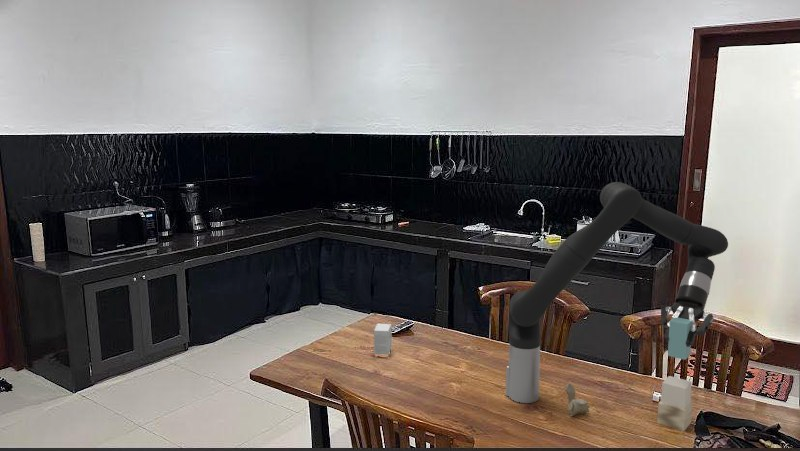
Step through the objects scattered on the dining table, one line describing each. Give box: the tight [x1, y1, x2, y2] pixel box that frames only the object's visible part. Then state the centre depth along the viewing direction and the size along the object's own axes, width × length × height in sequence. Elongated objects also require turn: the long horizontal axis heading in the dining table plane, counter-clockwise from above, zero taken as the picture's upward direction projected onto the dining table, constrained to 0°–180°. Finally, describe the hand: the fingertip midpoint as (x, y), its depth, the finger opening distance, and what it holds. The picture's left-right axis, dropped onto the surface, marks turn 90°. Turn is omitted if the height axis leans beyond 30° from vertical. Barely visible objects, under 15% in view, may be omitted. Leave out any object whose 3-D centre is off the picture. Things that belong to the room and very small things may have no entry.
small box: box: [373, 323, 393, 354], centre depth 212 cm, size 8×6×10 cm
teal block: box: [667, 318, 692, 360], centre depth 155 cm, size 4×4×10 cm
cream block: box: [660, 375, 693, 409], centre depth 158 cm, size 6×6×6 cm
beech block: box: [656, 400, 694, 432], centre depth 159 cm, size 7×7×6 cm
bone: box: [565, 382, 590, 417], centre depth 165 cm, size 9×6×10 cm
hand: (677, 342), depth 154 cm, fingers closed on teal block, 4 cm apart
